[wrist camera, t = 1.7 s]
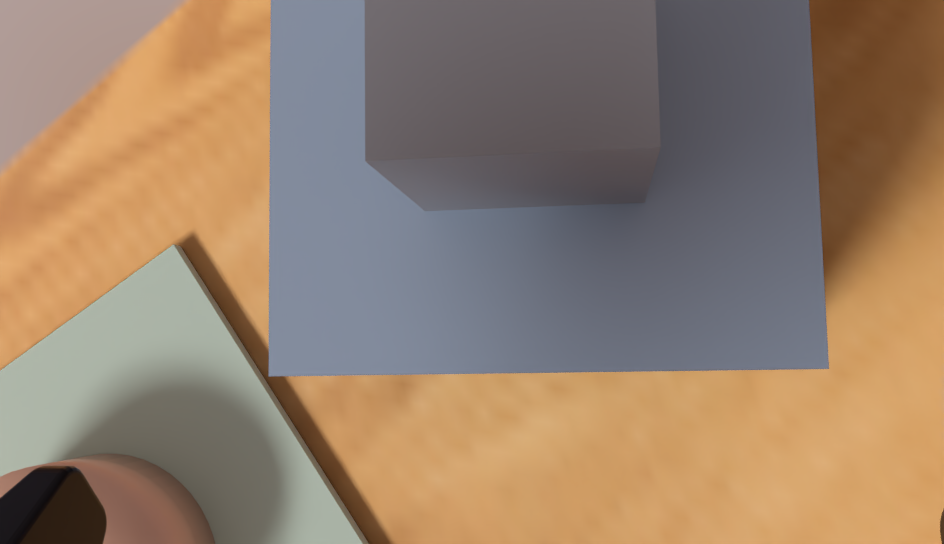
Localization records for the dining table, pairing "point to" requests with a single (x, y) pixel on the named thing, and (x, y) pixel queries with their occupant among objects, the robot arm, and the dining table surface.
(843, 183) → the dining table surface
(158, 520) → the pink dome
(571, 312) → the cover
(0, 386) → the mat
